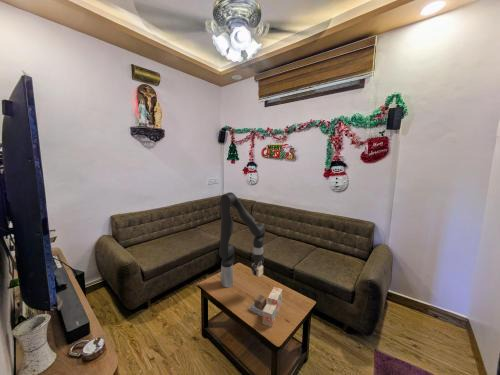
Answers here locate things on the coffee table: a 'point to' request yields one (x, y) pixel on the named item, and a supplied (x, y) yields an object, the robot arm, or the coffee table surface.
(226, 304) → the coffee table surface
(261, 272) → the maple block
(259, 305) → the walnut block
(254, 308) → the build board
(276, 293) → the stack of blocks
